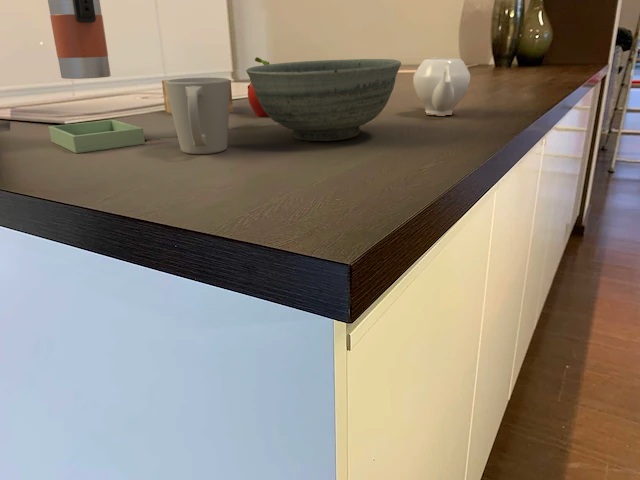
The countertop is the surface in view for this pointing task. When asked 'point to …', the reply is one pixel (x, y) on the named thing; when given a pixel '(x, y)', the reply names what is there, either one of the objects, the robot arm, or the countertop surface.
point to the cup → (200, 113)
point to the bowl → (324, 95)
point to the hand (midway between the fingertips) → (77, 22)
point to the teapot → (441, 83)
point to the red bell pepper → (253, 98)
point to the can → (79, 42)
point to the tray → (96, 135)
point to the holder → (167, 103)
